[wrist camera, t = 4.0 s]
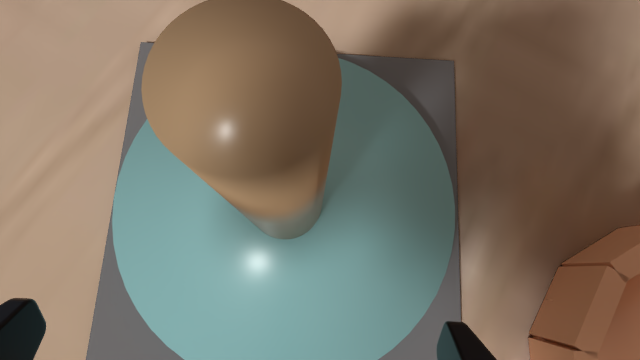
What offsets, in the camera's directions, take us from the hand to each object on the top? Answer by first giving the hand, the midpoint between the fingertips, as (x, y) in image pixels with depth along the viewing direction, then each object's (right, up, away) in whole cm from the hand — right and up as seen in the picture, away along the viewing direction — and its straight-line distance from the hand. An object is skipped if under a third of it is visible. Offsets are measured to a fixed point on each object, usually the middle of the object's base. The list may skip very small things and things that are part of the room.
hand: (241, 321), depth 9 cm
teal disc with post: (0, +2, +12) cm, 12 cm away
